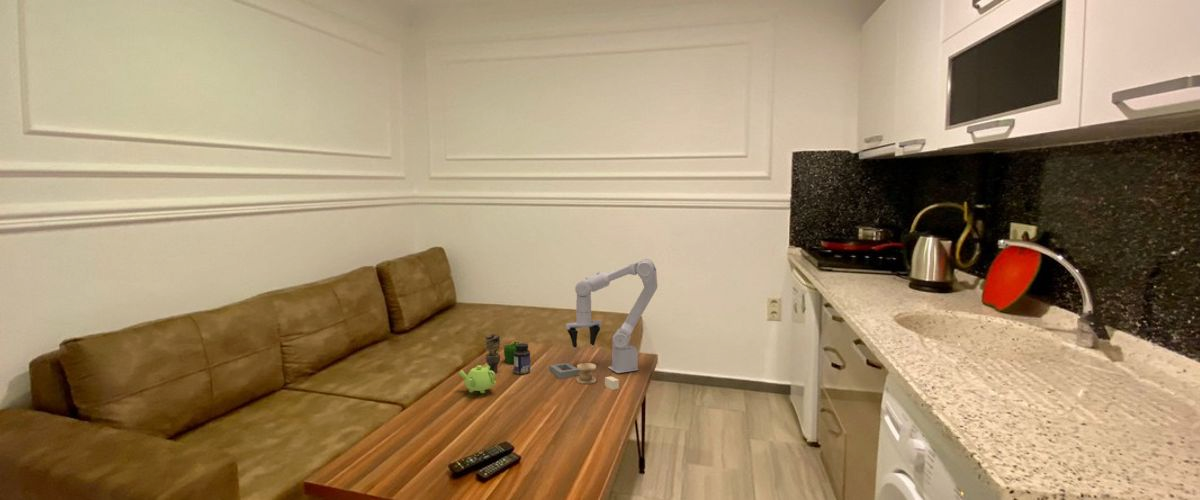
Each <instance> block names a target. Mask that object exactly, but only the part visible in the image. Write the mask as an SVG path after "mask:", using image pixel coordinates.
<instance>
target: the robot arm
mask: <svg viewBox="0 0 1200 500" xmlns="http://www.w3.org/2000/svg"><path fill="white" fill-rule="evenodd" d="M627 275H631V276H636V275H638V276H639V279H641V282H642V284H643V289H642V290H641V292H640V294H639V296H638V297H637V299H636V301H635V303H634V305H633V307H632V308H631V309H630V311H629V313H628V315H627V316H626V319H625V320H624V322H623V323H622V325H621V326H620V327H619V328H618V329H616V331H615V333H614V335H613V336H612V338H611V339H612V340H611V341H612V347H611V348H612V351H611V352H612V353H611V354H612V359H611V360H612V361H611V364H612V365H611V366H607V368H608V370H611V371H613V372H615V373H616V374H620V373H621V374H622V373H630V372H634V371H639V367H638V365H639V364H638V363H639V359H638V358H639V355H638V349H637V347H636V346H635V345H632V344H630V340H631V338H632V332H633V331H634V329H635V327H636V325H637V324H638V322H639V321H640V318H641V317H642V316H643V314H644V312H645V311H646V309H647V306H648V305H649V303H650V302H651V300H652V298H653V296H654V295H655V293H656V291H657V289H658V276H657V268H656V266H655V263H654V262H653V260H651V259H649V258H644V259H642V260H640V261H639V260H637V261H634V262H630V263H628V264H626V265H624V266H621V267H619V268H617V269H615V270H613V271H611V272H608V273H606V272H604V271H602V272H600V271H598V272H596V274H595V275H592V276H590V277H588V276H587V277H585V279H583V280H580V281H579V282H578V283H577V284H576V285H575V287H574V288H575V289H574V290H575V293H576V306H575V307H576V309H575V310H576V312H575V314H576V317H575V318H576V319H575V320H576V321H574V322H569V323H565V329H566V330H567V332H568V335H569V337H570V340H571V343H572V347H573V348H577V345H578V343H577V342H578V341H577V340H578V333H579V331H578V330H577V329H582V328H583V329H584V328H588V329H589V343H590V345H591V346H595V343H596V340H597V336H598V334H599V333H600V331H601V327H602V321H601V320H592V296H591V295H592V292H593V293H595V292H596V291H597V292H598V291H599V290H602V289H604V288H607V287H609V285H610V283H611V282H612V281H614V280H616V279H619V278H622V277H625V276H627Z"/></svg>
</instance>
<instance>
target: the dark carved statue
mask: <svg viewBox="0 0 1200 500" xmlns="http://www.w3.org/2000/svg"><path fill="white" fill-rule="evenodd" d="M484 338H485V340H484V341H485V346H486V347H485V350H486V351H488V353H487V354H486V355H485V362H486V365H488V366H490V369H489V371H490V370H491V371H493V372H494V373H496V372H497V371H498V365H499V363H500V361H501V354H500V353H499V352H498V351H499V350H500V348H501V347H500V345H501V343H500V341H501V340H500V335H498V334H494V333H493V334H492V333H491V334H489V335H485V337H484Z"/></svg>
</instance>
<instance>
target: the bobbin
mask: <svg viewBox="0 0 1200 500" xmlns="http://www.w3.org/2000/svg"><path fill="white" fill-rule="evenodd" d="M576 368H577V369H578V370H579V371H580V375H579V376H577V378H576V382H577V383H578V384H582V385H591V384H595V383H596V382H597V378H596V377H595V376H593V371H595V370H596V369H597V365H596V364H595V363H590V362H584V363H583V362H582V363H578V364H577V365H576Z"/></svg>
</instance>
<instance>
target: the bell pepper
mask: <svg viewBox="0 0 1200 500" xmlns="http://www.w3.org/2000/svg"><path fill="white" fill-rule="evenodd" d="M516 344H520V341H518V340H515V341H514V342H513V343H511V344H507V345H504V347H503V355H504V360H505V363H506V364H508V365H514V352H515V351H516Z"/></svg>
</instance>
